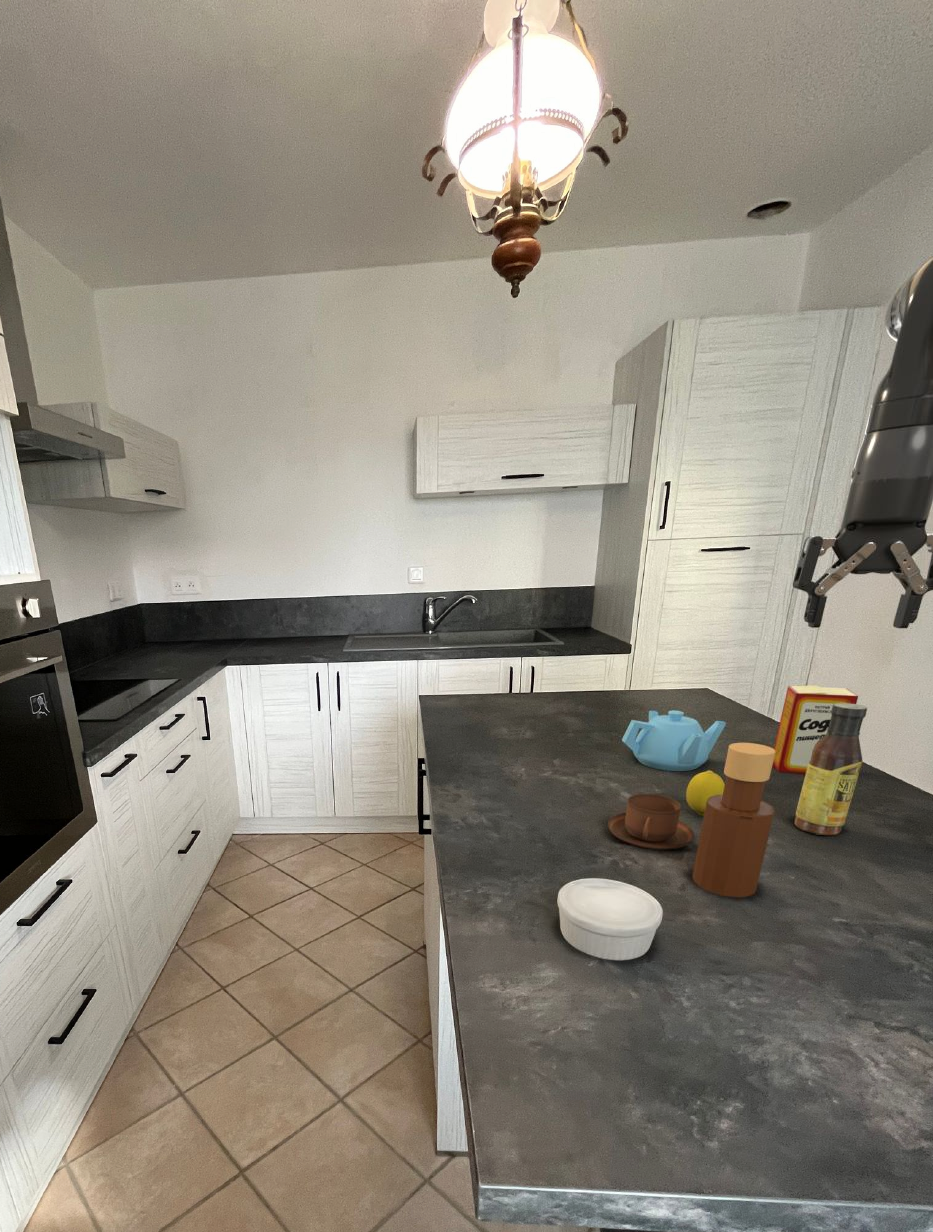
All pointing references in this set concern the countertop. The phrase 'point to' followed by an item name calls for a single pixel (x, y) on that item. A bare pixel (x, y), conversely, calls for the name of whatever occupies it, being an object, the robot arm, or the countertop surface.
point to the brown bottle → (733, 839)
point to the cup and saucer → (651, 823)
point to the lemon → (703, 790)
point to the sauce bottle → (832, 773)
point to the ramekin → (608, 918)
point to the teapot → (671, 741)
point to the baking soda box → (805, 724)
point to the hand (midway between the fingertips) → (856, 627)
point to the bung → (749, 762)
